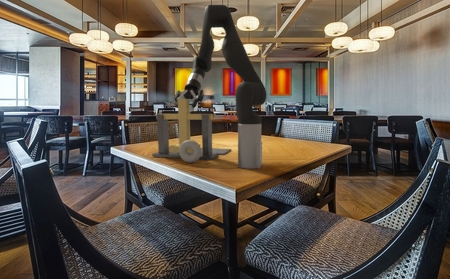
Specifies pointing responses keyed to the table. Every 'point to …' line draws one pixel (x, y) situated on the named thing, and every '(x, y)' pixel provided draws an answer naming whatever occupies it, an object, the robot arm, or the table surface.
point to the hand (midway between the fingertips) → (184, 106)
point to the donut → (196, 149)
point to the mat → (219, 151)
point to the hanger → (183, 123)
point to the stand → (205, 154)
